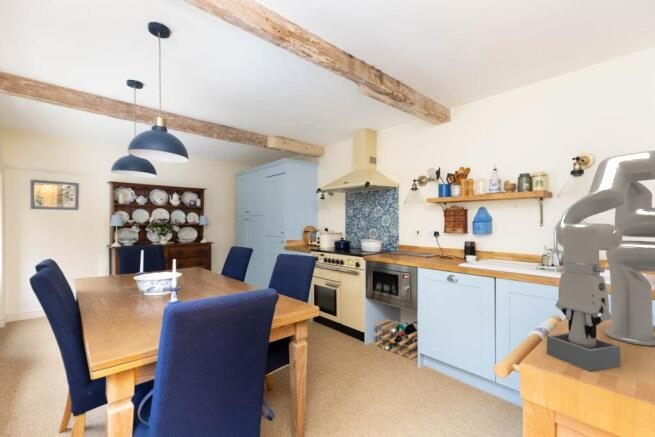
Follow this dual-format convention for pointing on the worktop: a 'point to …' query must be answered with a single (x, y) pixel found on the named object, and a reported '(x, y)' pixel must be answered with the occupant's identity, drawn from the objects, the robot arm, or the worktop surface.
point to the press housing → (584, 353)
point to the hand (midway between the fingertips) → (582, 336)
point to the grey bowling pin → (580, 331)
